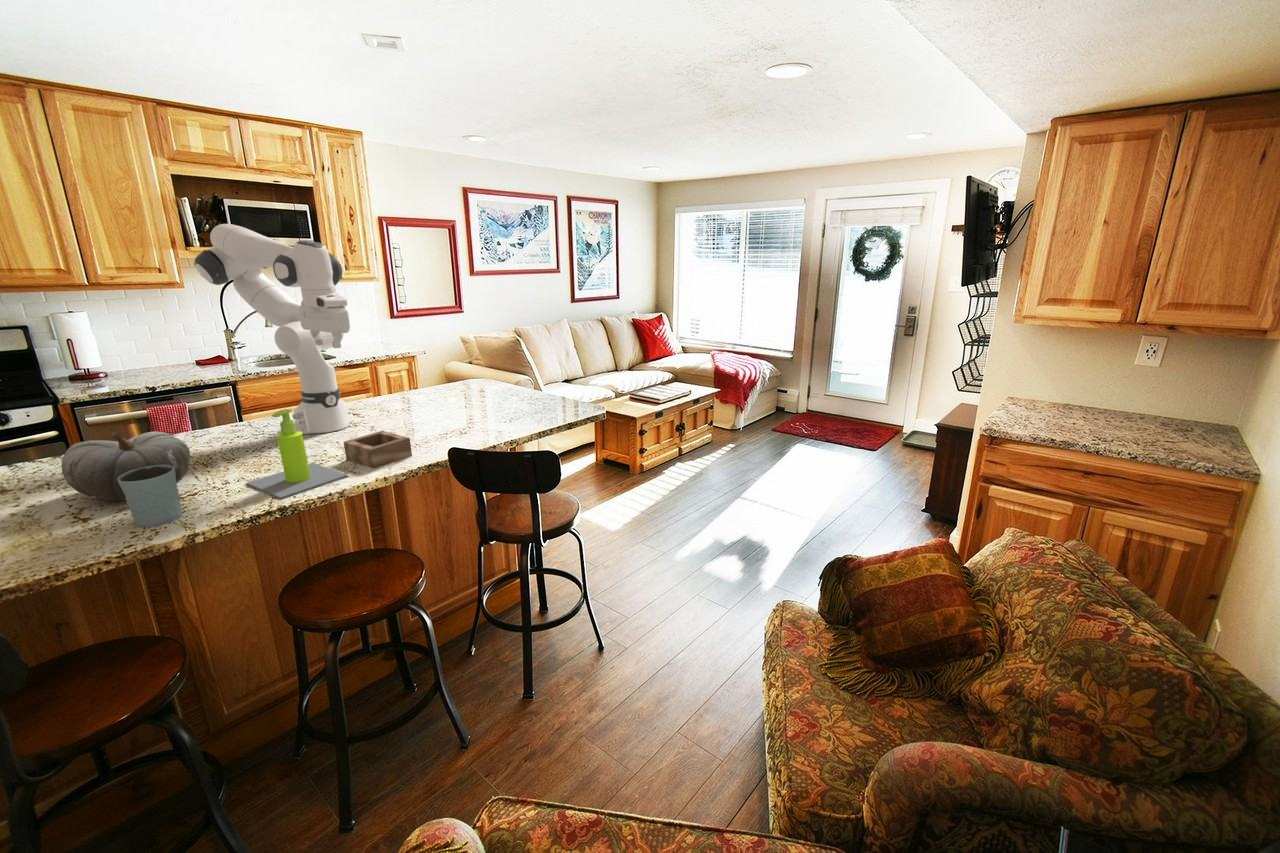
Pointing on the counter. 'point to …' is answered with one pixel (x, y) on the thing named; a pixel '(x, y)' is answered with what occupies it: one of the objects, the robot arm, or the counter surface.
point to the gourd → (120, 462)
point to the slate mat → (283, 489)
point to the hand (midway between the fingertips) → (328, 346)
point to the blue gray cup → (152, 494)
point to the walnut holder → (377, 449)
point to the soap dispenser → (292, 449)
